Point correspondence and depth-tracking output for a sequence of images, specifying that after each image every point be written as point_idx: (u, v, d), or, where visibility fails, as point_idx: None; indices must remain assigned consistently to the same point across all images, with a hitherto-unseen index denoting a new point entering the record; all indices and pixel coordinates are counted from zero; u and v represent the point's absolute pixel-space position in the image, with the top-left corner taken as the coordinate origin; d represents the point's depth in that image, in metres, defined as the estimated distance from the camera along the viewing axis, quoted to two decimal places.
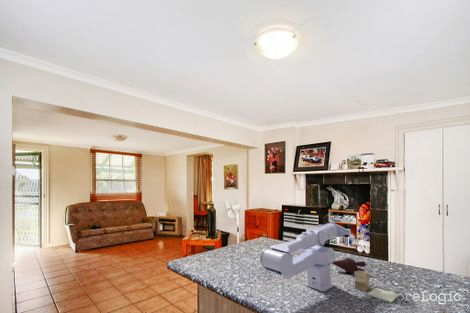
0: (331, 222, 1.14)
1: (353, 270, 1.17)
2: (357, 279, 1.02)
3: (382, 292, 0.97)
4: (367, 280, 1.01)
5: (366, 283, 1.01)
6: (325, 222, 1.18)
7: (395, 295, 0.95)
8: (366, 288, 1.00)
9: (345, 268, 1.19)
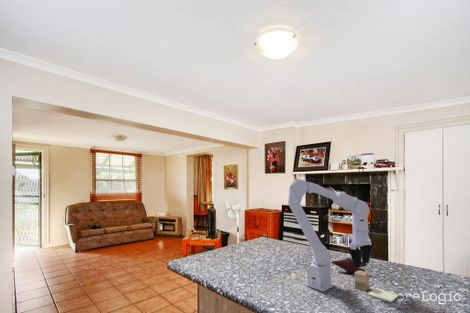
0: (369, 242, 1.02)
1: (354, 270, 1.17)
2: (357, 279, 1.02)
3: (382, 292, 0.97)
4: (367, 280, 1.01)
5: (366, 283, 1.01)
6: (371, 245, 1.05)
7: (395, 295, 0.95)
8: (366, 288, 1.00)
9: (346, 268, 1.19)
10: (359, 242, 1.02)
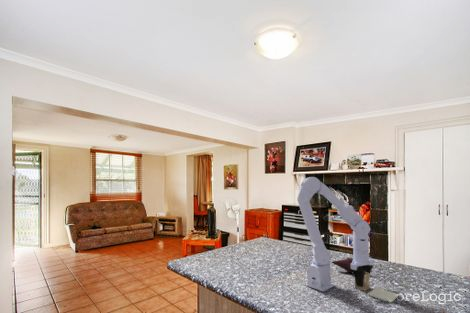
0: (370, 262, 1.01)
1: None
2: None
3: (382, 292, 0.97)
4: (367, 280, 1.01)
5: (366, 283, 1.01)
6: (372, 265, 1.04)
7: (395, 295, 0.95)
8: (366, 288, 1.00)
9: (346, 268, 1.19)
10: (360, 262, 1.01)
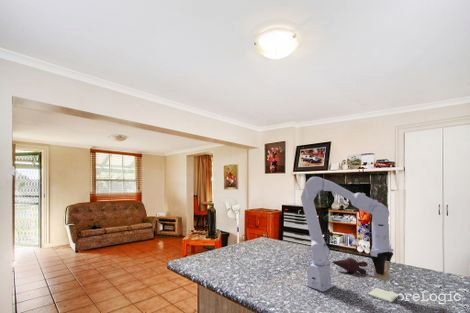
0: (390, 249, 0.95)
1: (354, 270, 1.17)
2: None
3: (382, 292, 0.97)
4: (387, 269, 0.95)
5: (386, 272, 0.95)
6: (392, 252, 0.98)
7: (395, 295, 0.95)
8: (386, 277, 0.94)
9: (346, 268, 1.19)
10: (380, 248, 0.95)
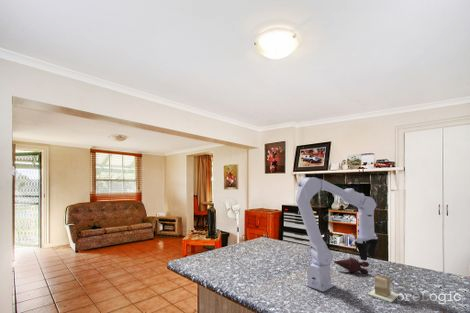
0: (375, 236, 1.06)
1: (356, 270, 1.17)
2: (378, 284, 0.96)
3: None
4: (388, 285, 0.95)
5: (387, 288, 0.94)
6: (377, 240, 1.09)
7: (395, 295, 0.95)
8: (387, 294, 0.94)
9: (348, 268, 1.19)
10: (365, 236, 1.06)
